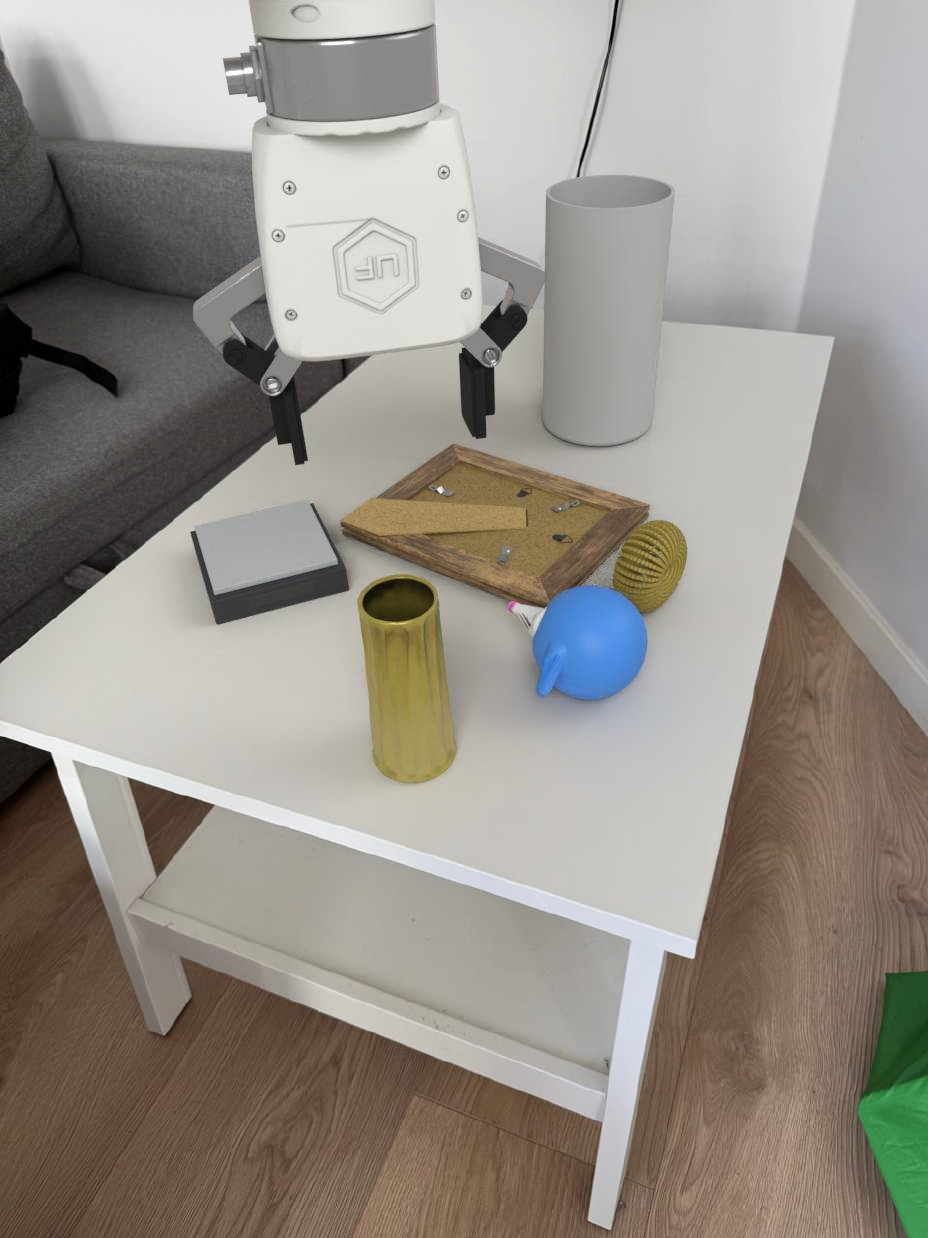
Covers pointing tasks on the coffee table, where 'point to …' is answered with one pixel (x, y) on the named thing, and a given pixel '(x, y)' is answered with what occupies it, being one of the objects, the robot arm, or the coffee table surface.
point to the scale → (267, 561)
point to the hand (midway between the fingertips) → (387, 440)
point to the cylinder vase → (604, 305)
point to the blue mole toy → (585, 641)
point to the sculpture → (650, 564)
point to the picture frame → (497, 524)
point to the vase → (406, 678)
